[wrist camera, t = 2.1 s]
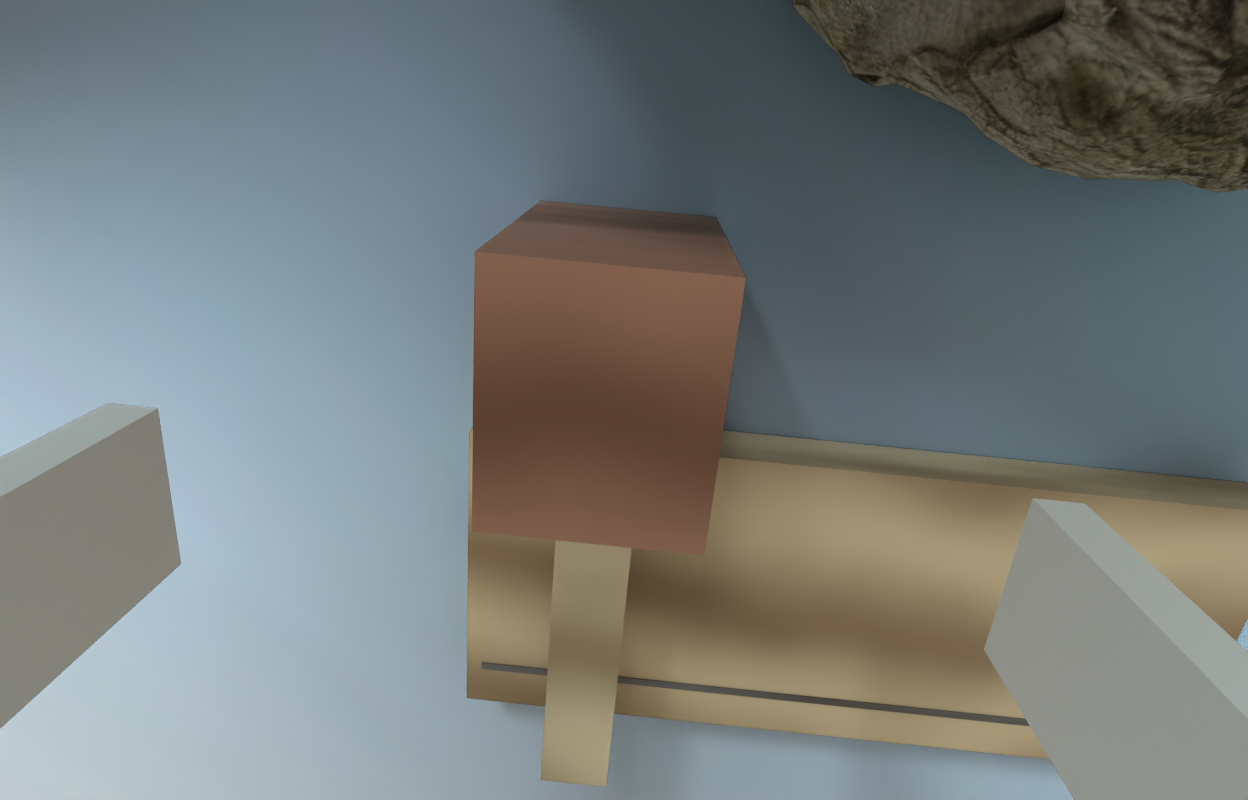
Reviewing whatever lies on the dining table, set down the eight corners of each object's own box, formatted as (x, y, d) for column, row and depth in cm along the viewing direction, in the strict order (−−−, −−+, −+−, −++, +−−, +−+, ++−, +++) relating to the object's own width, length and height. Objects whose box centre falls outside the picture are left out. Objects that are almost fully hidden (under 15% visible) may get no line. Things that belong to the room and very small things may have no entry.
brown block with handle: (541, 200, 21) (474, 251, 14) (716, 217, 21) (745, 277, 13) (521, 660, 27) (467, 869, 20) (656, 674, 27) (654, 889, 20)
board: (484, 406, 23) (468, 433, 21) (1247, 482, 23) (1300, 516, 21) (480, 657, 27) (466, 699, 25) (1137, 726, 27) (1173, 773, 25)
